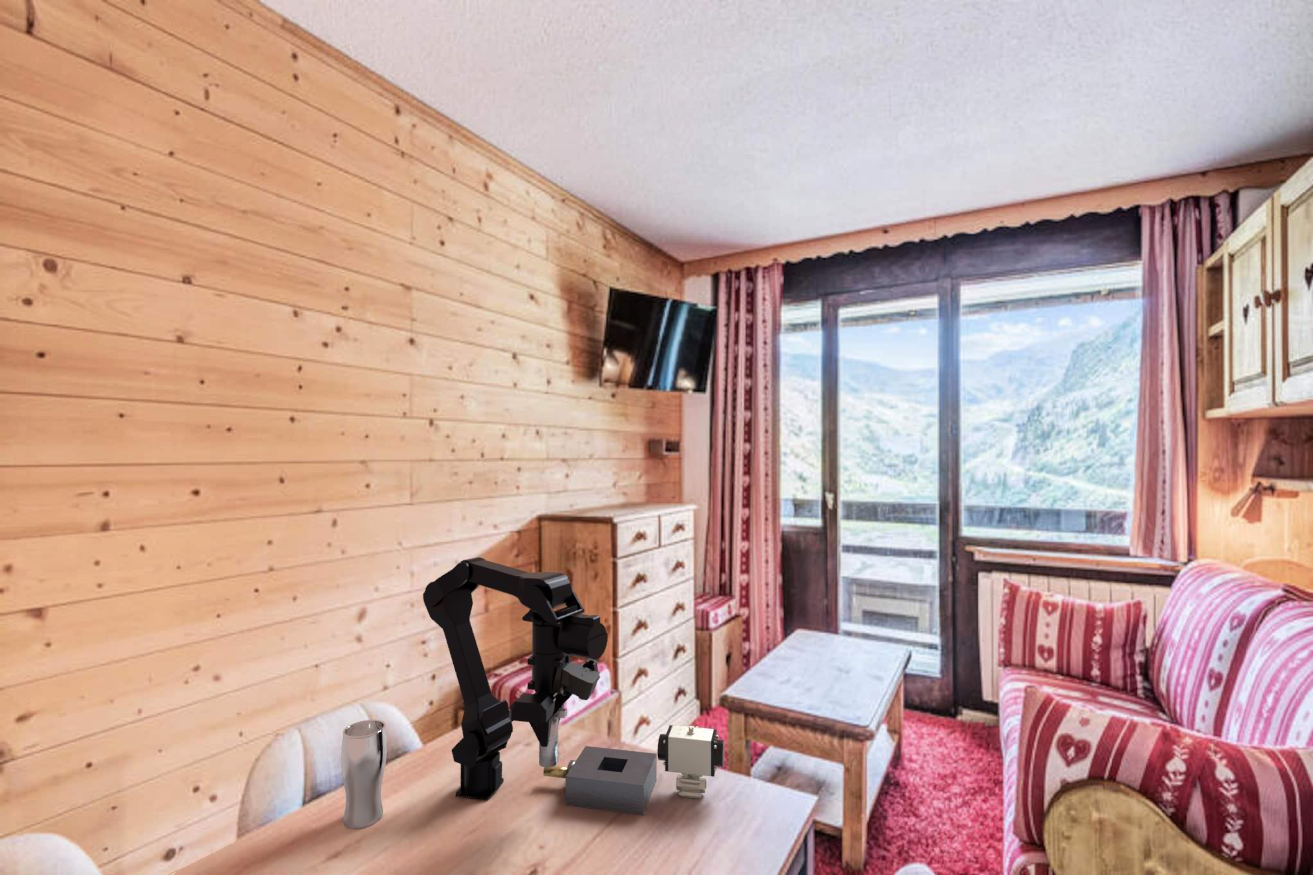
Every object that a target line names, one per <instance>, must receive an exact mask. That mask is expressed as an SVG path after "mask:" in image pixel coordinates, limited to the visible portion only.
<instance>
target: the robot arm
mask: <svg viewBox="0 0 1313 875" xmlns="http://www.w3.org/2000/svg"><path fill="white" fill-rule="evenodd" d="M480 586H482V587H485V588H488V589H492V590H494V591H497V592H500V593H503V594H506V595H509V596H510V595H511V596H513V597H514V598H517V599H518V601H519V602H520V604H521V606H524V607H526V608H527V609H529V611H527V612H526V613H524V615H523V616H522V618H521V620H522V622H527V623H531V627H532V628H531V632H532V633H531V636H532V637H531V655H530V656H529V657H528V658H527V665H529V666H531V680H529V681H528V682H527V690H534V693H525V692H524V693H522V694H521V695H520V696H519V697H518V698H517V699H516V700H515V701H514V702H512V704H510V705H509V703H508V701H507V700H506V699H502V700H501V701H500V700H499V699H498V698H497V697H496V696H495V695H494V694H493V692H492V690H491V686H490V683H489V679H488V676H487V673H486V670H485V665H484V664H483V660H482V656H481V652H480V649H479V647H478V643H477V640H476V637H475V633H474V630H473V626H472V624H471V619H470V618H471V615H472V609H473V605H474V602H473V601H474V600H473V596H472V595H473V593H474V592H475V591H476V590H477V589H478V588H479V587H480ZM424 589H425V590H424V591H423V594H422V600H423V604H424V607H425V608H426V610H427V613H428V615H429V617H430V619H431V620H432V621H433V622H434V623H435V624H436V625H438V626H439V627H440V628H441V629H442V631H443V634H444V638H445V640H446V645H447V648H448V651H449V655H450V658H451V662H452V665H453V668H454V672H455V676H456V679H457V682H458V686H459V689H460V692H461V697H462V699H463V703H464V709H463V714H462V720H461V730H462V739H460V740H459V741H458V742H457V743H456V744H455V745H454V746H453V747H452V749H451V753H452V754H451V755H452V759H453V762H454V763H457V764H459V765H460V781H459V782H460V786H459V788H458V789H457V790H456V791H455V796H456V797H460V798H461V797H462V798H467V799H469V798H470V799H477V800H484V801H487V800H489V799H491V797H492V796H493V795H494V794H495V793H496V791H497V790H498V789H499V788H500V787H501V786H502V784H503V783H504V781H505V780H504V778H503V762H502V761H501V752H500V751H501V750H503V749H506V748H507V745H508V742H509V740H511V737H512V735H513V734H512V733H513V732H514V726H513V722H523V723H529V725H530V727H531V728H532V731H533V733H534V734H535V736H536V739H537V741H538V744H539V743H540V745H541V746H542V747H547V746H548V743H549V737H550V730H551V723H552V717H553V716H554V715H555V714H556V713H557V712H558V711H559V710H560V708H564V705H565V703H566V702H567V701H568V700H569V699H571V697H572V696H573V695H574V696H576V697H578V699H580V700H582V701H587V700H589V699H590V697H591V696H592V695H593V693H594V692H595V690H596V686H597V684H598V681H599V680H600V679H601V675H600V673H601V671H600V670H599V667H598V661H597V660H599V659H600V658H601V657H602V656H603V655H604V653H605V652H606V649H607V646H608V640H609V633H608V632H607V629H606V626H605V625H604V624H603V623H601V616H600V615H595V614H590V615H589V614H585V608H584V607H583V604H582V603H581V601H580V600H579V597H578V596H577V594H576V592H575V590H574V588H573V586H572V584H571V582H570V580H569V577H568V576H567V575H566V574H565V573H564V572H559V571H558V572H556V571H555V572H554V571H538V572H531V571H530V572H529V571H525V570H522V569H519V568H516V567H515V568H514V567H511V566H507V565H504V564H500V563H497V562H493V561H489V560H487V559H486V558H484V557H480V556H479V557H477V556H476V557H472V558H467V559H463V560H461V561H460V562H458V563H457V564H456V565H455V566H454V567H453V568H452V569H450V570H448V571H447V572H445V573H444V574H442V575H440V576H439V577H437V578H436V579H435V580H433V581H430V582H429V583H428V584H427V585H426V587H425V588H424ZM563 606H565V607H563ZM559 607H562V608H559ZM557 608H559V609H557ZM554 609H556V610H554ZM572 656H575V657H579V658H583V659H587V660H586V661H584V663H583V664H582V662H577V663H576V662H574V661H572ZM560 720H561V718H559V717H558V726H559V725H560V722H561V721H560Z"/></svg>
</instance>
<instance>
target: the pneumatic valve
mask: <svg viewBox="0 0 1313 875" xmlns="http://www.w3.org/2000/svg"><path fill="white" fill-rule="evenodd" d="M719 737H720V736H719V735H718V729H716V728H714V729H713V728H707V727H705V728H703V727H699V726H697V725H695V726H694V725H688V726H686V725H685V726H683V725H673V724H672V725H671V724H669V725H668V729H667V730H666V733H660V734H659V736H658V740H657V753H656V754H657V759H658V760H657V761H663V764H662V765H663V766H664V772H670V773H678V775H676V780H675V789H676V791H679V792H678V795H679V796H681V797H682V798H689V799H697V800H699V799H701V798H702V794H705V793H706V792H707V778H706V777H715V776H716V772H717V769H718V768H724V766H725V756H726V755H725V753H726V750H725V748H726V743H725V739H719ZM717 767H718V768H717ZM703 776H704V777H703ZM705 776H706V777H705Z"/></svg>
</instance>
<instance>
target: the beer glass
mask: <svg viewBox="0 0 1313 875" xmlns="http://www.w3.org/2000/svg"><path fill="white" fill-rule="evenodd" d="M386 727H387V724H386V722H385V721H384V720H380V719H365V720H360V721H356V722H354V723H351V724H349V725H347V726H346V727H345V728H344V729H343V731H342V740H341V749H340V750H341V752H340V753H341V754H340V767H341V768H340V769H341V777H342V781H343V786H344V791H345V793H344V794H345V809H344V813H343V814H344V815H343V817H342V818H343V819H342V824H343V826H344V827H345V828H347V829H351V830H358V829H363V828H367V827H371V826H372V825H374V824H376V823H377V822H379V821H380V820H381V818H382V817H383V814H384V807H383V802H382V784H383V780H384V774H385V768H386V764H387V762H386V761H387V755H388V754H387V750H388V748H387V747H388V743H387V742H388V741H387V740H388V739H387V729H386Z"/></svg>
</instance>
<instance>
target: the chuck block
mask: <svg viewBox="0 0 1313 875" xmlns="http://www.w3.org/2000/svg"><path fill="white" fill-rule="evenodd" d="M657 759H658V756H657V753H654V752H646V751H645V752H644V751H637V750H636V751H634V750H625V749H617V748H607V747H598V746H589V745H585V746H584V748H582V751H581V753H580V754H579V755H578V757H577V759H576V760H575V759H571V760H569V762H568V765H567V767H565V766H560V765H559V766H557V765H555V766H553V767H548V768H546V767H543V777H547V778H548V777H549V778H557V779H565V806H570V807H577V808H583V809H584V808H586V809H593V810H601V811H607V812H615V813H618V812H619V813H624V814H625V813H626V814H632V815H639V816H640V815H642V816H644V815H645V813H646V809H647V807H648V804H649V802H650V799H651V797H652V794H653V791H654V789H655V786H656V783H657V775H658V774H657V773H658V772H657V769H658V768H657V767H658V766H657V764H658V763H657V761H658V760H657Z"/></svg>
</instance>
